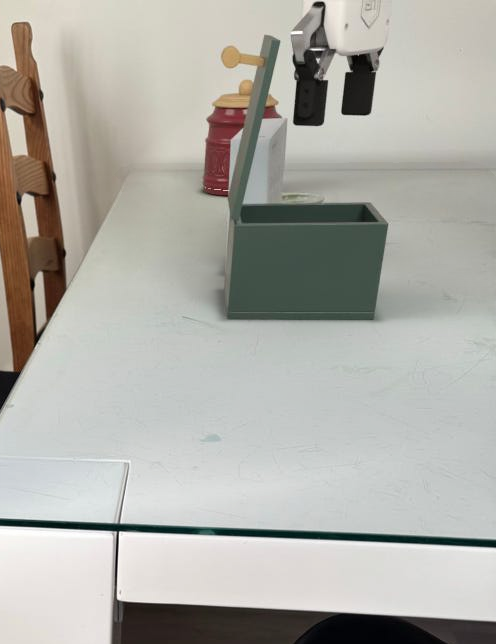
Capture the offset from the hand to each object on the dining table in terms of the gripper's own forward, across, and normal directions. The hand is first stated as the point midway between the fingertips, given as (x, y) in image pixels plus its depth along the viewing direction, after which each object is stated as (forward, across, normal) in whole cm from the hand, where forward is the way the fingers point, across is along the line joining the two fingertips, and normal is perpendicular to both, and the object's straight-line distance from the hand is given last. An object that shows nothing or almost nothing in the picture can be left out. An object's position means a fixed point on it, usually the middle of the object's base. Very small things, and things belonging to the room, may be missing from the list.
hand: (332, 120), depth 103 cm
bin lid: (0, -4, +7) cm, 8 cm away
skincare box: (+19, +17, +19) cm, 32 cm away
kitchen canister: (+19, +62, +51) cm, 82 cm away
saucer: (+19, +48, +32) cm, 61 cm away
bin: (+19, 0, +2) cm, 19 cm away
